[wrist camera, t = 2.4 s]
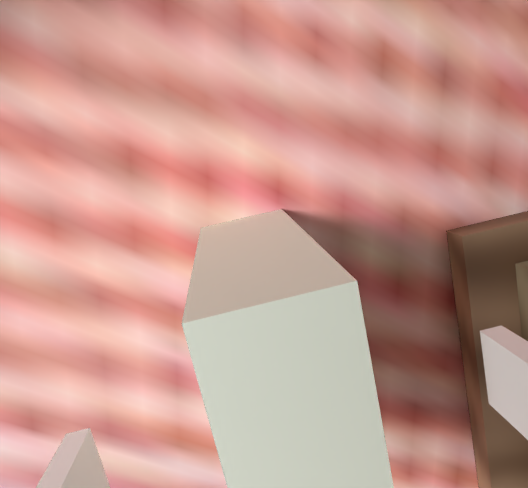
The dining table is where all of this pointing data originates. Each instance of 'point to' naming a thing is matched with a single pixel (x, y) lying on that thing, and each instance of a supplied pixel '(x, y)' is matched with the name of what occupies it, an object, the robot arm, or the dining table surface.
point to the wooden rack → (484, 317)
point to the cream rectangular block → (283, 359)
